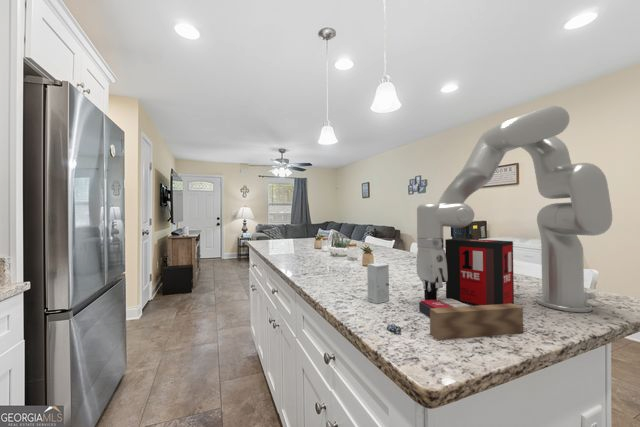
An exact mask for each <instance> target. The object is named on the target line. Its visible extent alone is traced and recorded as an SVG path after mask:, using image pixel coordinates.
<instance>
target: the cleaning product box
mask: <svg viewBox="0 0 640 427" xmlns="http://www.w3.org/2000/svg"><path fill="white" fill-rule="evenodd" d="M444 240H445V249H444V250H445V254H446V260H447V272H448V281H447V282H445V299H454V300H457V301H459V302H462V303H464V304H467V305H469V306H479V305H495V304H511V303H512V304H515V297H514V296H515V295H514V294H515V293H514V291H515V288H514V287H515V285H514V282H515V281H514V242H513V241H512V240H497V239H495V240H494V239H479V238H462V237H461V238H460V237H455V238H448V239H447V238H446V239H444Z"/></svg>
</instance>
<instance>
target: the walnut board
mask: <svg viewBox="0 0 640 427" xmlns="http://www.w3.org/2000/svg"><path fill="white" fill-rule="evenodd" d="M523 333H524V307H522V306H520V305H517V304H515V303H514V304H512V303H511V304H495V305H479V306H472V305H469V306H463V307H447V308H431V309H430V318H429V334H430V335H431V336H432V337H433V338H435V340H437V341H440V340H442V341H443V340H453V339H465V338H467V339H469V338H480V337H489V336H502V335H503V336H504V335H514V334H523Z"/></svg>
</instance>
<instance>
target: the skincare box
mask: <svg viewBox="0 0 640 427" xmlns="http://www.w3.org/2000/svg"><path fill="white" fill-rule="evenodd" d="M366 268H367V271H366V272H367V273H366V274H367V276H366V278H367V301H368V302H370V303H372V304H374V305H375V304H376V305H377V304H382V303H386V302H389V301H390V284H389V283H390V281H389V280H390V274H389V270H390V269H389V264H388V263H383V262H376V263H367V267H366Z"/></svg>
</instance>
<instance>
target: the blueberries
mask: <svg viewBox="0 0 640 427" xmlns="http://www.w3.org/2000/svg"><path fill="white" fill-rule="evenodd" d="M385 329H386V330H387V331H388V332H390V333H392V334H394V335H396V336H401V335H402V327H401V326H399V325H396V324H395V323H391V324H389V325H387V327H386V328H385ZM405 331H406V332H408V328H406V329H405Z"/></svg>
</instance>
